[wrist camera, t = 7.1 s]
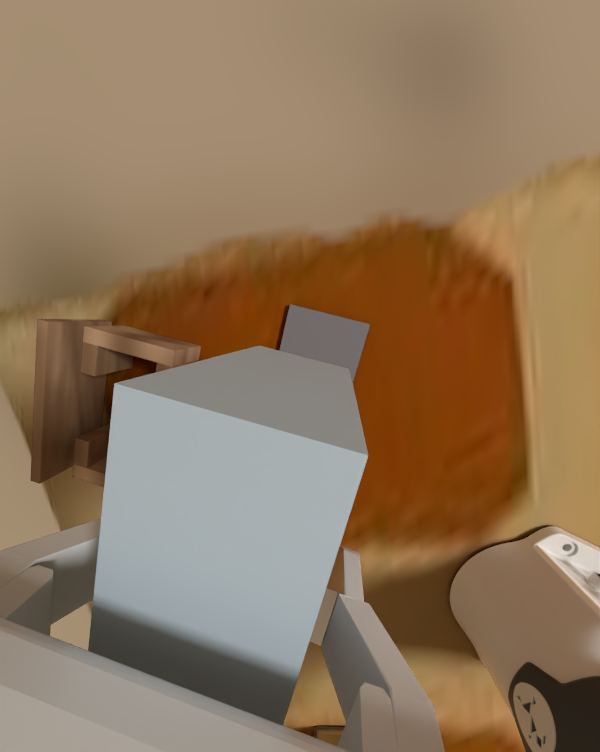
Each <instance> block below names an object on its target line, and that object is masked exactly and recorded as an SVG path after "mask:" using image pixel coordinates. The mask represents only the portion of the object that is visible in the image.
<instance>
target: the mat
mask: <svg viewBox="0 0 600 752" xmlns="http://www.w3.org/2000/svg"><path fill="white" fill-rule="evenodd" d="M369 326H370V324H366V323H362V322H358V321H354V320H350V319H347V318H343V317H339V316H335V315H331V314H327V313H323V312H319V311H315V310H311V309H307V308H303V307H299V306H295V305H291V304H290V307H289V311H288V315H287V320H286V324H285V328H284V332H283V337H282V341H281V345H280V350H279V351H282V352H286V353H290V354H294V355H298V356H302V357H306V358H309V359H313V360H317V361H321V362H325V363H329V364H333V365H337V366H341V367H344V368H348V369H349V370H350V375H351V379H352V383H353V380H354V377H355V373H356V370H357V367H358V363H359V360H360V356H361V353H362V350H363V346H364V343H365V340H366V336H367V333H368V330H369Z"/></svg>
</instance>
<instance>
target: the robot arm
mask: <svg viewBox="0 0 600 752" xmlns="http://www.w3.org/2000/svg"><path fill="white" fill-rule="evenodd" d="M100 525H101V519H98V520H95V521H92V522H89V523H85V524H82V525H79V526H76V527H73V528H70V529H67V530H64V531H60V532H57V533H54V534H51V535H48V536H45V537H42V538H39V539H35V540H33V541H29V542H26V543H23V544H20V545H17V546H14V547H10V548H7V549H4V550H2V551H0V752H445V750H444V746H443V742H442V738H441V734H440V730H439V726H438V722H437V718H436V714H435V710H434V706H433V704H432V702H431V701H430V699H429V697H428V696H427V694H426V693H425V691H424V690H423V688H422V686H421V685H420V683H419V682H418V680H417V678H416V677H415V675H414V674H413V672H412V671H411V669H410V667H409V666H408V664H407V663H406V661H405V660H404V658H403V656H402V655H401V653H400V652H399V650H398V648H397V647H396V645H395V644H394V642H393V641H392V639H391V637H390V636H389V634H388V633H387V631H386V629H385V628H384V626H383V625H382V623H381V622H380V620H379V618H378V617H377V615H376V614H375V612H374V610H373V609H372V607H371V606H370V604H369V603H366V602H364V596H363V585H362V574H361V563H360V554H359V553H358V552H357V551H353V550H350V549H347V548H342V547H339V549H338V553H337V556H336V559H335V562H334V565H333V568H332V572H331V575H330V578H329V581H328V584H327V587H326V590H325V594H324V597H323V600H322V603H321V606H320V609H319V613H318V616H317V619H316V622H315V625H314V628H313V632H312V635H311V638H310V641H309V642H312V643H314V644H317V645H320V646H322V647H321V649H322V652H323V655H324V658H325V661H326V664H327V667H328V670H329V673H330V676H331V679H332V682H333V685H334V688H335V691H336V694H337V697H338V700H339V703H340V706H341V709H342V712H343V715H344V718H345V720H346V725H345V728H344V730H343V733H342V735H341V738H340V740H339V743H338V745H337V746H335V745H332V744H330V743H327V742H324V741H322V740H319V739H317V738H314V737H311V736H309V735H306V734H304V733H301V732H298V731H296V730H293V729H290V728H288V727H285V726H283V725H280V724H277V723H275V722H272V721H270V720H267V719H264V718H262V717H259V716H256V715H254V714H251V713H249V712H246V711H243V710H241V709H238V708H236V707H233V706H230V705H228V704H225V703H222V702H220V701H217V700H215V699H212V698H209V697H207V696H204V695H202V694H199V693H196V692H194V691H191V690H188V689H186V688H183V687H181V686H178V685H175V684H173V683H170V682H168V681H165V680H163V679H160V678H157V677H155V676H152V675H150V674H147V673H144V672H142V671H139V670H137V669H134V668H131V667H129V666H126V665H124V664H121V663H118V662H116V661H113V660H111V659H108V658H105V657H103V656H100V655H98V654H95V653H92V652H90V651H87V650H84V649H82V648H79V647H77V646H74V645H72V644H69V643H66V642H64V641H61V640H59V639H56V638H53V637H51V636H50V625H51V624H53V623H54V622H56V621H58V620H59V619H61V618H63V617H64V616H66V615H68V614H69V613H71V612H73V611H74V610H76V609H78V608H79V607H81V606H82V605H84V604H86V603H88V602H89V601H91V600H93V597H94V587H95V577H96V566H97V556H98V546H99V536H100ZM450 605H451V609H452V612H453V615H454V617H455V619H456V620H457V622H458V623H459V625H460V626H461V628H462V629H463V630H464V632H465V633H466V635H467V636H468V638H469V639H470V641H471V642H472V644H473V646H474V647H475V649H476V652H477V654H478V656H479V658H480V660H481V662H482V664H483V665H484V666H485V668H487V669H488V671H489V673H490V675H491V677H492V679H493V680H494V682H495V684H496V686H497V688H498V689H499V691H500V693H501V695H502V697H503V699H504V700H505V702H506V704H507V706H508V708H509V710H510V711H511V713H512V715H513V717H514V719H515V721H516V724H517V727H518V730H519V733H520V736H521V738H522V741H523V744H524V747H525V750H526V752H600V548H599V547H597V546H595V545H593V544H591V543H589V542H587V541H585V540H583V539H581V538H578V537H576V536H574V535H572V534H570V533H568V532H566V531H564V530H562V529H560V528H558V527H554V526H550V527H545V528H543V529H540V530H538V531H537V532H535V533H533V534H531V535H530V536H528V537H526V538H525V539H522V540H519V541H514V542H509V543H504V544H500V545H496V546H493V547H490V548H488V549H486V550H483V551H481V552H480V553H478V554H476V555H475V556H473V557H472V558H471V559H469V560H468V561H467V562H466V563H465V564H464V565H463V566H462V567H461V568H460V570H459V571H458V573H457V574H456V576H455V578H454V580H453V583H452V586H451V590H450Z"/></svg>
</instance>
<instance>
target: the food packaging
mask: <svg viewBox="0 0 600 752" xmlns="http://www.w3.org/2000/svg"><path fill="white" fill-rule="evenodd" d="M344 728H345V726H317V727H315V728H314V738H317V739H319V740H322V741H324V742H327V743H330V744H332V745H335V746H337V745H338V743H339V740H340V738H341V735H342V733H343V730H344Z"/></svg>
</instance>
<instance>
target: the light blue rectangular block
mask: <svg viewBox="0 0 600 752" xmlns="http://www.w3.org/2000/svg"><path fill="white" fill-rule="evenodd" d="M367 458H368V452H367V447H366V443H365V438H364V434H363V429H362V425H361V420H360V416H359V411H358V406H357V402H356V397H355V393H354V388H353V384H352V379H351V375H350V370H349V369H348V368H344V367H341V366H337V365H333V364H329V363H325V362H321V361H317V360H313V359H309V358H306V357H302V356H298V355H294V354H290V353H286V352H282V351H278V350H274V349H270V348H267V347H263V346H256V347H252V348H248V349H244V350H241V351H237V352H233V353H229V354H225V355H221V356H217V357H214V358H210V359H206V360H202V361H198V362H194V363H191V364H187V365H183V366H179V367H175V368H171V369H167V370H164V371H160V372H156V373H152V374H148V375H144V376H140V377H137V378H133V379H129V380H125V381H121V382H117V383H114V392H113V402H112V412H111V422H110V433H109V443H108V453H107V464H106V474H105V484H104V494H103V505H102V515H101V525H100V536H99V546H98V556H97V566H96V577H95V587H94V597H93V608H92V618H91V628H90V639H89V649H88V651H90V652H92V653H95V654H98V655H100V656H103V657H105V658H108V659H111V660H113V661H116V662H118V663H121V664H124V665H126V666H129V667H131V668H134V669H137V670H139V671H142V672H144V673H147V674H150V675H152V676H155V677H157V678H160V679H163V680H165V681H168V682H170V683H173V684H175V685H178V686H181V687H183V688H186V689H188V690H191V691H194V692H196V693H199V694H202V695H204V696H207V697H209V698H212V699H215V700H217V701H220V702H222V703H225V704H228V705H230V706H233V707H236V708H238V709H241V710H243V711H246V712H249V713H251V714H254V715H256V716H259V717H262V718H264V719H267V720H270V721H272V722H275V723H277V724H280V725H283V723H284V720H285V717H286V714H287V710H288V707H289V704H290V701H291V698H292V695H293V692H294V688H295V685H296V682H297V679H298V676H299V673H300V669H301V666H302V663H303V660H304V657H305V654H306V650H307V647H308V644H309V641H310V638H311V635H312V632H313V628H314V625H315V622H316V619H317V616H318V613H319V609H320V606H321V603H322V600H323V597H324V594H325V590H326V587H327V584H328V581H329V578H330V575H331V572H332V568H333V565H334V562H335V559H336V556H337V553H338V549H339V546H340V543H341V540H342V537H343V534H344V530H345V527H346V524H347V521H348V518H349V515H350V512H351V508H352V505H353V502H354V499H355V496H356V493H357V489H358V486H359V483H360V480H361V477H362V474H363V470H364V467H365V464H366V461H367Z"/></svg>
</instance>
